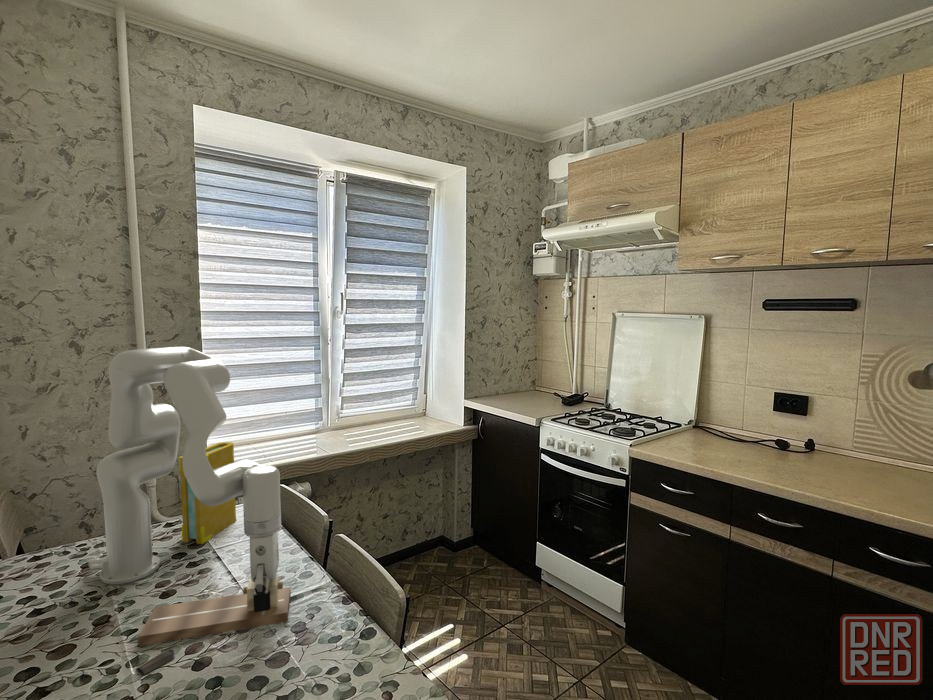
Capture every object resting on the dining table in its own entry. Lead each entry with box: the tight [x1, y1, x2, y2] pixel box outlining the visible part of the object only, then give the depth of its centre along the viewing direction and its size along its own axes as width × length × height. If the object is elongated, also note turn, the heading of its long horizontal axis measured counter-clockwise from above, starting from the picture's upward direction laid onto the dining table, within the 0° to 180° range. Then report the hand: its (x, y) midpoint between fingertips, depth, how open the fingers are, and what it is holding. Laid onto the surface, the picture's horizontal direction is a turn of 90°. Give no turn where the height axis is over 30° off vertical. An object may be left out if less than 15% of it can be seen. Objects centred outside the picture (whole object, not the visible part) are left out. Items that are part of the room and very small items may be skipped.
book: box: [177, 441, 237, 545], centre depth 145 cm, size 17×7×25 cm, turn 168°
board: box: [137, 586, 292, 647], centre depth 104 cm, size 28×10×2 cm, turn 106°
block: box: [135, 648, 176, 676], centre depth 91 cm, size 4×6×2 cm, turn 150°
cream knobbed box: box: [242, 573, 284, 611], centre depth 106 cm, size 8×4×5 cm, turn 106°
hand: (265, 597), depth 107 cm, fingers open, 9 cm apart
